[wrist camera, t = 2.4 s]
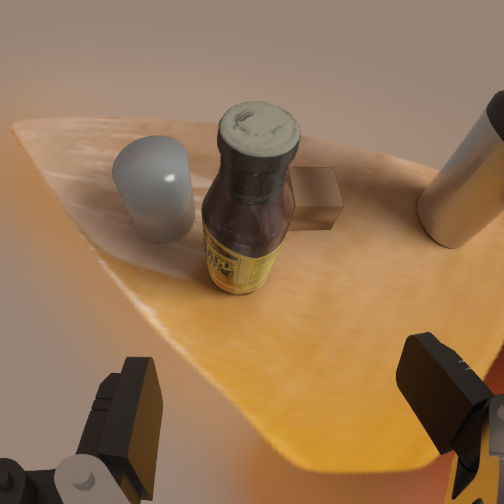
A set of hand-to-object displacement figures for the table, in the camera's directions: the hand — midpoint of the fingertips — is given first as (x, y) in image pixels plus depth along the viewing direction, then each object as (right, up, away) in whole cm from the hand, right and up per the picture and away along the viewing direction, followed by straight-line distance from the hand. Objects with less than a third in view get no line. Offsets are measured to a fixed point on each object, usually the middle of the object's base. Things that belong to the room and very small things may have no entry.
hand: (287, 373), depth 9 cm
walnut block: (+5, +8, +27) cm, 29 cm away
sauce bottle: (-2, +2, +24) cm, 24 cm away
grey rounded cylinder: (-11, +8, +26) cm, 29 cm away
